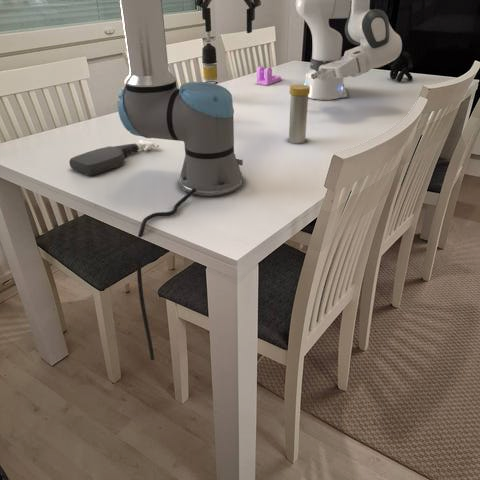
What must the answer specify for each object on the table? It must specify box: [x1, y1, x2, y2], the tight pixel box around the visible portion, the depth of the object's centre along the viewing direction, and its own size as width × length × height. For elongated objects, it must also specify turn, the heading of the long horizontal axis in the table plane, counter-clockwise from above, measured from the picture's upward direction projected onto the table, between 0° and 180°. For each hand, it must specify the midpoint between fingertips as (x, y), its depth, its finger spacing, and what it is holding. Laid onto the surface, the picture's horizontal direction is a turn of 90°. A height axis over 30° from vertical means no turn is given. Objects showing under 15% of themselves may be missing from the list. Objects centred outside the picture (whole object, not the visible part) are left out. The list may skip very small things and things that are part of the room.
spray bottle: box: [68, 139, 160, 177], centre depth 124 cm, size 3×11×24 cm
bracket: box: [256, 66, 282, 86], centre depth 200 cm, size 13×6×7 cm, turn 143°
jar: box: [288, 94, 309, 144], centre depth 132 cm, size 5×5×16 cm
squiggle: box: [386, 51, 414, 83], centre depth 198 cm, size 11×10×15 cm
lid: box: [289, 84, 310, 96], centre depth 128 cm, size 6×6×2 cm
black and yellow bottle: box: [201, 31, 219, 85], centre depth 171 cm, size 6×6×30 cm
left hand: (228, 32), depth 139 cm, fingers open, 13 cm apart
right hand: (315, 77), depth 149 cm, fingers open, 8 cm apart
